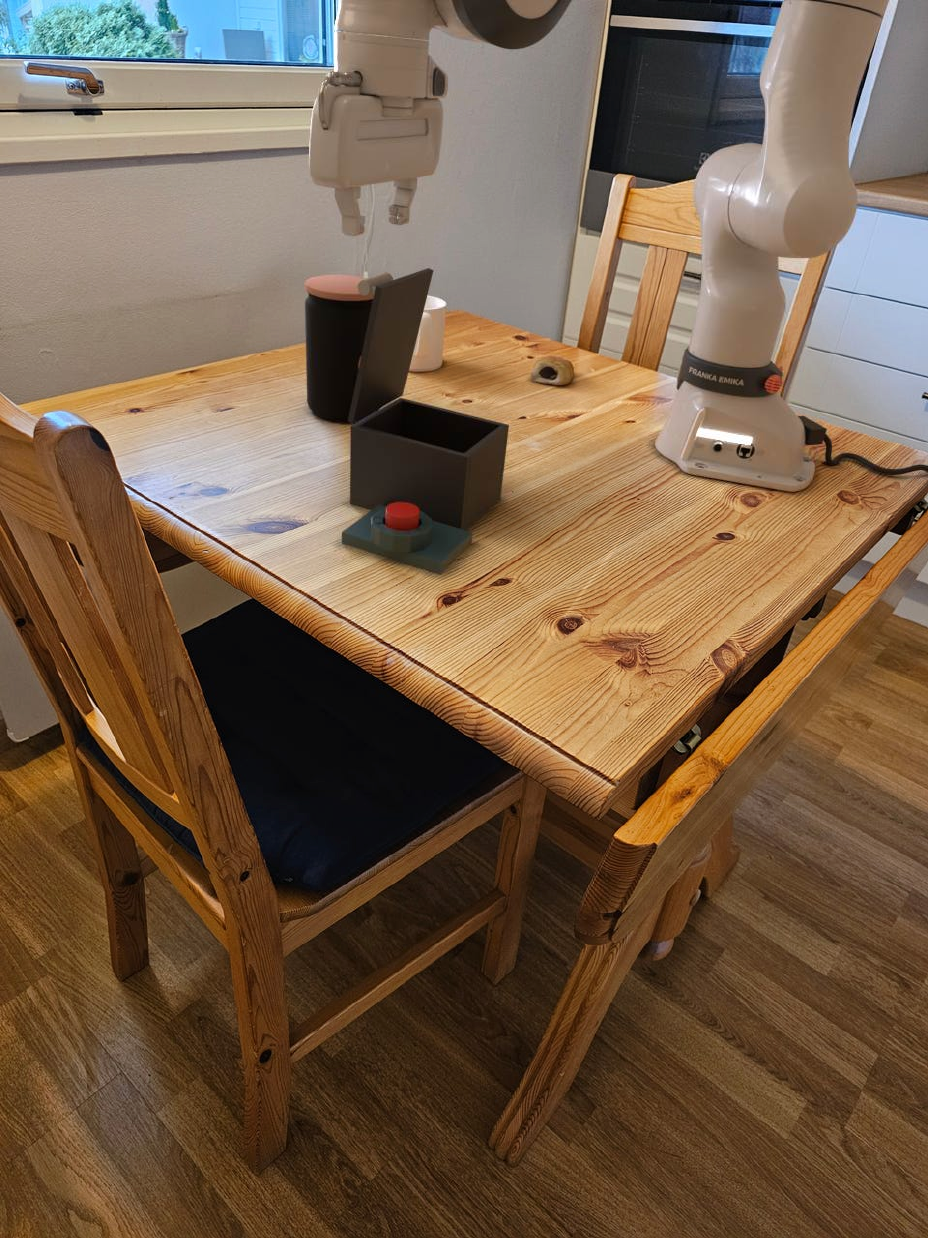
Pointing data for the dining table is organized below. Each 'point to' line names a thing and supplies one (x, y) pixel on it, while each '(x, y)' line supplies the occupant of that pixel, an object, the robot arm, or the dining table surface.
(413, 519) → the button
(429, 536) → the control block
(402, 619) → the dining table surface
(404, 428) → the dark grey box
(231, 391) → the dining table surface
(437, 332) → the mug
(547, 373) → the pastry
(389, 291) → the lid
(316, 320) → the coffee jar
